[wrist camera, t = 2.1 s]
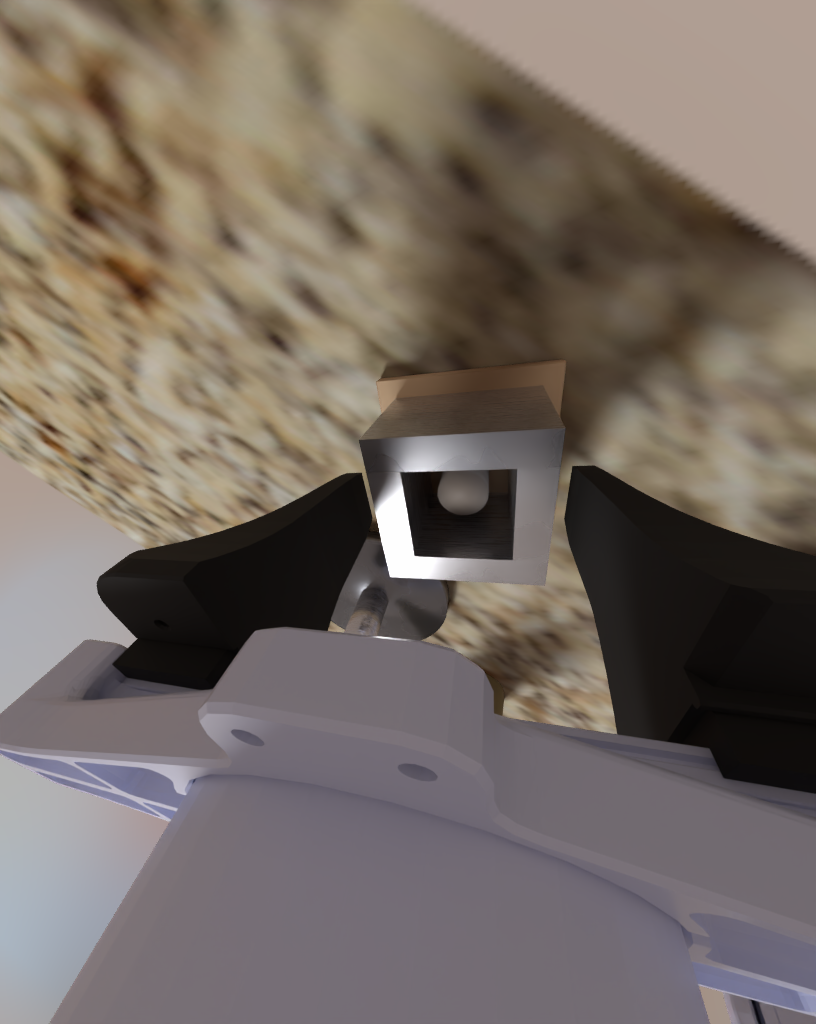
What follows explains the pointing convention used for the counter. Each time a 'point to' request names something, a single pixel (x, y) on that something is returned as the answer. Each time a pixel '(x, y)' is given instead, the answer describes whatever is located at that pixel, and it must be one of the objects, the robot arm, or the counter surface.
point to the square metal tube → (466, 446)
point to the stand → (471, 486)
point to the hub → (388, 599)
